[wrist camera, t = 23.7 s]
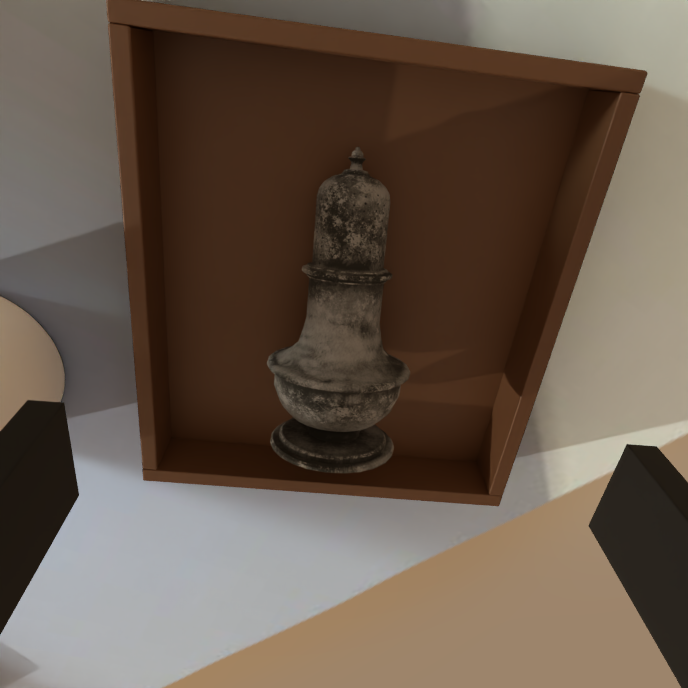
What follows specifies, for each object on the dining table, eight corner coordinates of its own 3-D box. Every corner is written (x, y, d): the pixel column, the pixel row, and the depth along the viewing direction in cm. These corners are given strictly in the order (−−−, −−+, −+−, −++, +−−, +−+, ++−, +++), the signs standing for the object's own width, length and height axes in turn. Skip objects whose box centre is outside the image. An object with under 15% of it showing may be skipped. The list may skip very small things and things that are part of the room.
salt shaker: (233, 442, 22) (244, 133, 19) (319, 405, 26) (339, 155, 23) (350, 494, 19) (387, 134, 15) (424, 442, 23) (462, 158, 20)
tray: (483, 466, 29) (499, 506, 26) (161, 440, 27) (142, 480, 25) (606, 70, 20) (649, 71, 17) (137, 6, 18) (104, -5, 16)
